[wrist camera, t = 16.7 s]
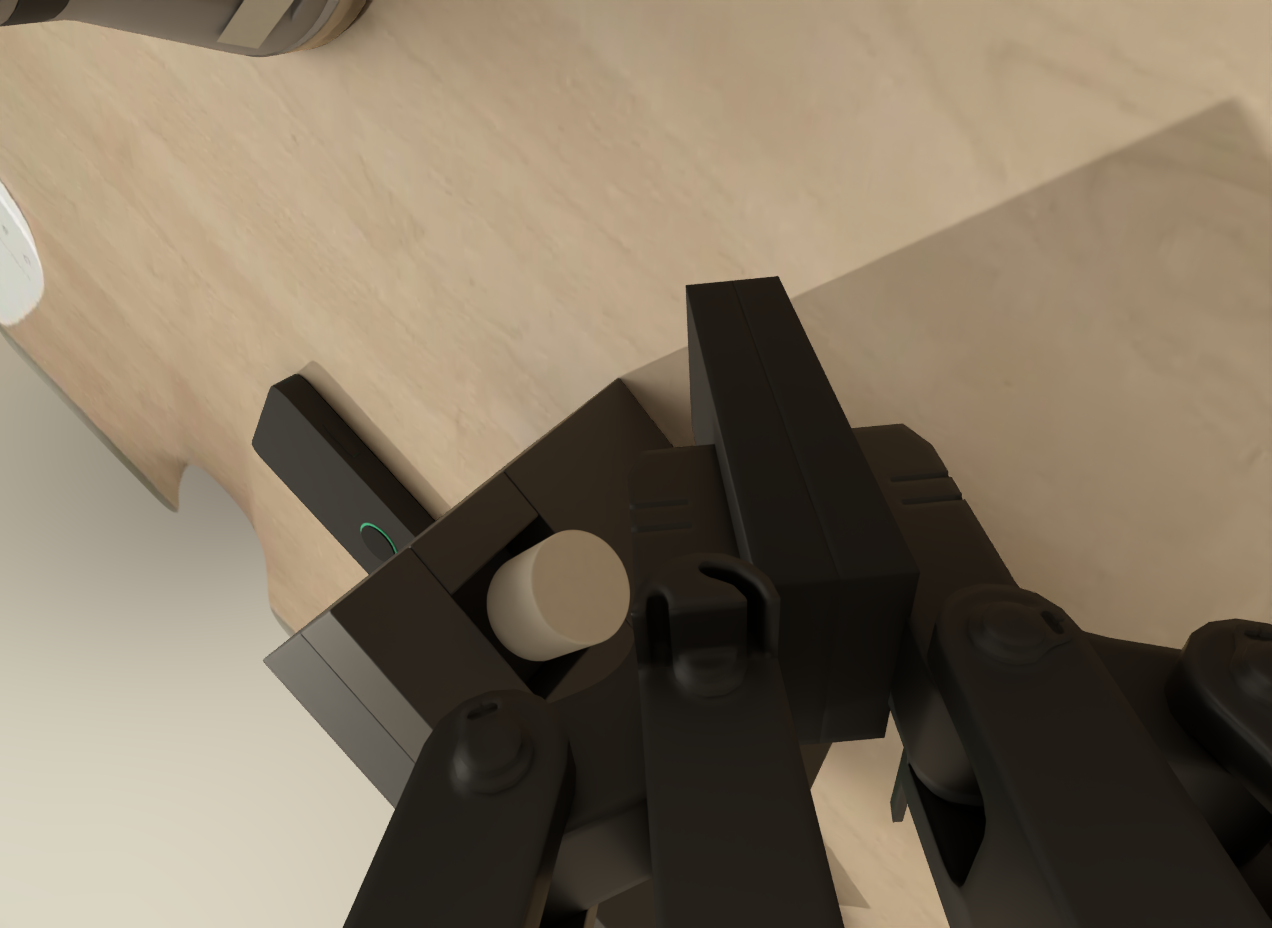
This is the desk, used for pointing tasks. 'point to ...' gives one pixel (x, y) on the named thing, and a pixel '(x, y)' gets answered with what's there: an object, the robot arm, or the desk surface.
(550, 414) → the desk surface
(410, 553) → the dock
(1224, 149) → the desk surface
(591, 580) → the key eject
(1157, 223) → the desk surface
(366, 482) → the smart home device
